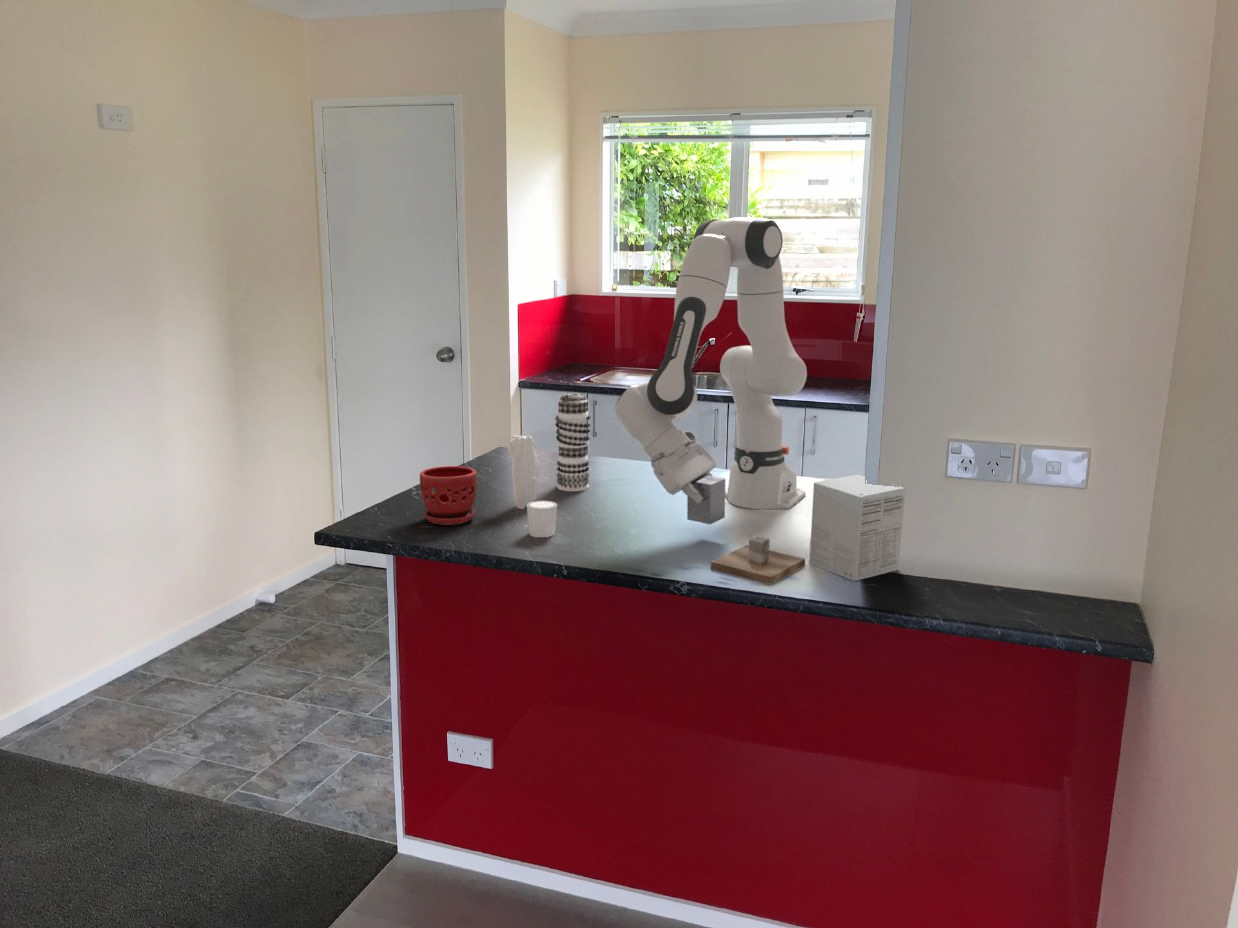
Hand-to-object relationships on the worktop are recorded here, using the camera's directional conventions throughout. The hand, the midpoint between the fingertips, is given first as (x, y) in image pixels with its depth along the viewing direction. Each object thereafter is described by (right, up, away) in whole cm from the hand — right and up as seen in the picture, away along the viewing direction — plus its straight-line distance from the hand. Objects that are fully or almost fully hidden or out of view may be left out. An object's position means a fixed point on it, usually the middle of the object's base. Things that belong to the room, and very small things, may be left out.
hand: (709, 496), depth 214 cm
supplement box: (+29, -14, -14) cm, 35 cm away
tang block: (+9, -14, -15) cm, 22 cm away
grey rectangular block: (0, -5, +2) cm, 5 cm away
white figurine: (-43, -4, +26) cm, 51 cm away
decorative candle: (-32, +1, +44) cm, 55 cm away
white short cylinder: (-37, -9, +5) cm, 39 cm away
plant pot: (-60, -6, +15) cm, 62 cm away
